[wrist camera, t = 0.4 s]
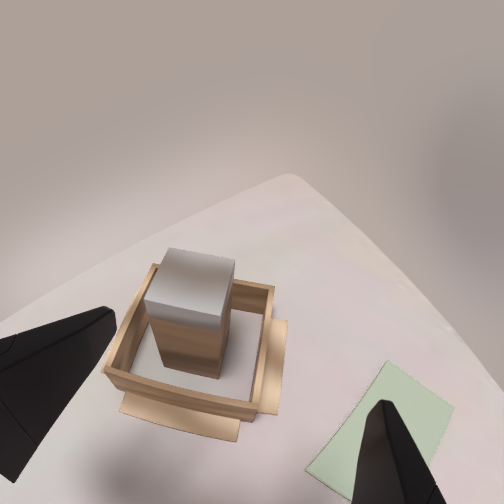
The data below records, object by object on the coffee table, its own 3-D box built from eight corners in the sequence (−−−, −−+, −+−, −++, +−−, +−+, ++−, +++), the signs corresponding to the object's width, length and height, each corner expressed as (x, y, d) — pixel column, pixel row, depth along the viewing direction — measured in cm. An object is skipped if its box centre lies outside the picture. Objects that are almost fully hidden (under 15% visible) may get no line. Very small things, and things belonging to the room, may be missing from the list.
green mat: (389, 523, 14) (391, 523, 14) (304, 470, 19) (305, 469, 18) (452, 408, 22) (454, 407, 22) (386, 361, 27) (387, 359, 27)
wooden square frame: (272, 447, 20) (282, 438, 17) (90, 400, 21) (73, 383, 18) (288, 299, 32) (296, 274, 29) (147, 272, 32) (142, 246, 30)
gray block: (218, 379, 24) (220, 316, 18) (164, 366, 25) (143, 299, 18) (228, 333, 28) (235, 259, 21) (178, 323, 28) (169, 247, 22)
